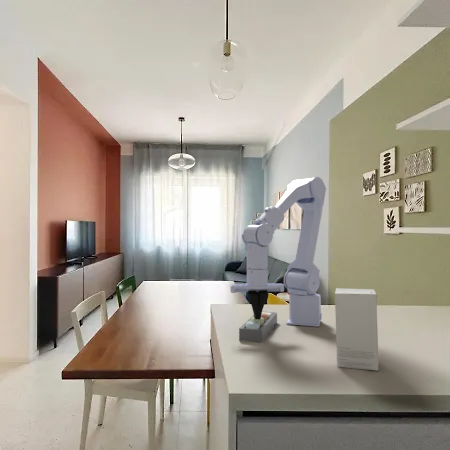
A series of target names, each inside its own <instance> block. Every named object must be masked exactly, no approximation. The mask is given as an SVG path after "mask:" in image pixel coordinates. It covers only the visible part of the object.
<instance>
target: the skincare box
mask: <svg viewBox="0 0 450 450" xmlns="http://www.w3.org/2000/svg"><path fill="white" fill-rule="evenodd" d="M377 300H378V295H377V293H376V291H375V289H374V288H347V287H346V288H345V287H344V288H341V287H336V288H335V292H334V306H335V307H334V308H335V309H334V311H335V312H334V313H335V333H336V334H335V335H336V336H335V337H336V338H335V339H336V342H335V343H336V366H337V368H344V369H345V368H346V369H354V370H355V369H357V370H368V371H374V372H375V371H376V372H377V371H379V369H380V366H379V365H380V364H379V339H378V334H379V333H378V330H379V329H378V304H377V303H378V301H377Z"/></svg>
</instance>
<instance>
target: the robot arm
mask: <svg viewBox="0 0 450 450" xmlns="http://www.w3.org/2000/svg"><path fill="white" fill-rule="evenodd" d="M326 191H327V187H326V184H325V183H324V181H323V179H322V178H321V177H320V176H314V177H308V178H302V179H293V180H291V182H290V183H289V184H287V187H286V191H285V192H284V193H283V194H282V196H281V197H280V198H279V200H278V201H277V202H276V204H275V205H270V206H268V207H266V206H265V208H264V209H263V212H262V213H261V215H260V216H259V217H258V218H256V219H255V220H254V222H253V223H252V224H249V225H246V227H245V229H243V233H242V234H241V239H242V242H243V243H244V246H245V247H244V248H245V249H244V250H245V251H246V283H239V284H238V283H237V284H230V293H231V294H235V293H245V294H246V295H247V297H248V300H249V302H250V306H251V308H252V312H253V315H254V318H255V319H261V314H262V312H263V310H264V307H265V305H266V302H267V300H268V298H269V295H270V294H269V292H281V293H283V292H284V291H285V288H286V289H287V293H289V295H288V296H289V302H288V303H289V305H288V307H289V310H288V311H289V316H288V317H289V318H288V319H287V320H286V323H285V324H287V325H294V326H296V325H297V326H306V327H318V328H320V325H321V322H322V314H323V313H322V311H321V310H322V304H321V303H322V299H321V298H322V297H321V296H322V295H321V294H319V293H317V291H318V289H319V288H320V284H321V283H320V281H321V280H320V269H319V268H318V266H317V265H315V263H314V259H315V254H316V248H317V244H318V243H317V242H318V238H319V232H320V226H321V220H322V214H323V208H324V207H323V206H324V203H325V197H326ZM295 204H297V206H299V207H300V208H301V209H302V210H303V217H302V222H301V227H300V234H299V239H298V243H297V244H298V245H297V247H296V248H297V249H296V256H295V259H294V260H293V261H291V262H290V263H289V264H288V265H287V266H288V267H287V268H286V269H287V270H286V272H285V274H284V276H283V283H272V282H271V283H270V282H268V281H269V280H268V279H269V277H268V276H269V271H268V270H269V267H268V266H269V262H268V261H269V260H268V257H269V256H268V252H269V251H268V250H269V249H268V247H269V244H271V243H272V242H273V241H272V240H273V238H274V237H273V235H274V233H275V231H276V230H277V229H278V228H279V226H280V225H281V224H282V223H283V222H284V220H285V214H286V212H288V211H289V210H290V208H291V207H292V206H293V205H295Z"/></svg>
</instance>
